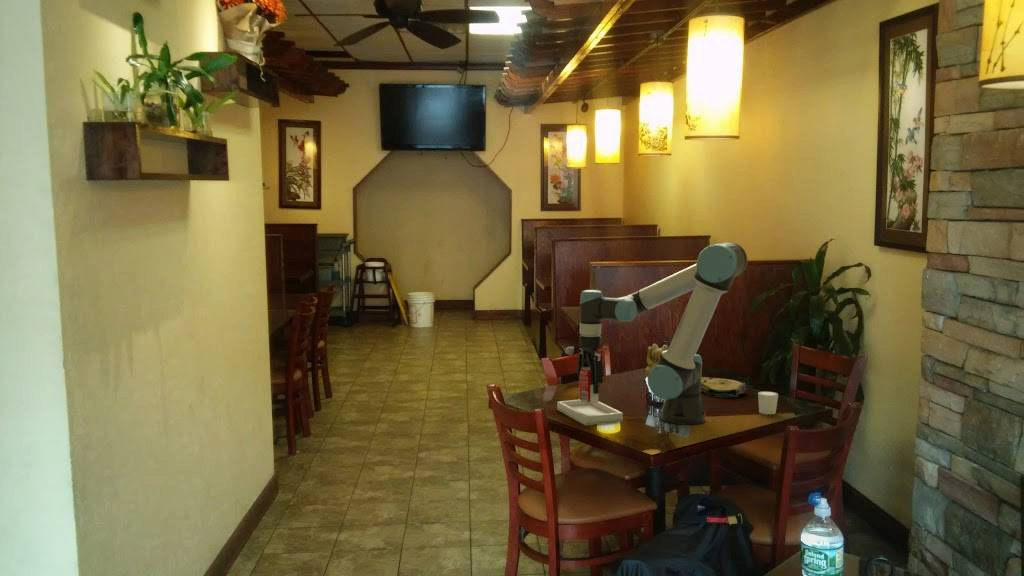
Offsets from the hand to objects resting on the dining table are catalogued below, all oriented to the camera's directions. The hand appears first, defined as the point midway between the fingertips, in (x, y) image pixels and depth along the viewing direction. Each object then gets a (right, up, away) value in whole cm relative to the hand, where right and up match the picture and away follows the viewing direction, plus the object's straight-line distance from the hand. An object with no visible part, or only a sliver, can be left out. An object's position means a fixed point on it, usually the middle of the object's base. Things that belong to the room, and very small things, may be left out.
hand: (588, 399), depth 290 cm
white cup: (+64, -5, +6) cm, 65 cm away
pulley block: (+52, -2, +38) cm, 64 cm away
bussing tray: (0, -6, +1) cm, 6 cm away
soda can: (0, -1, 0) cm, 1 cm away
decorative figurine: (+34, 0, +57) cm, 66 cm away
